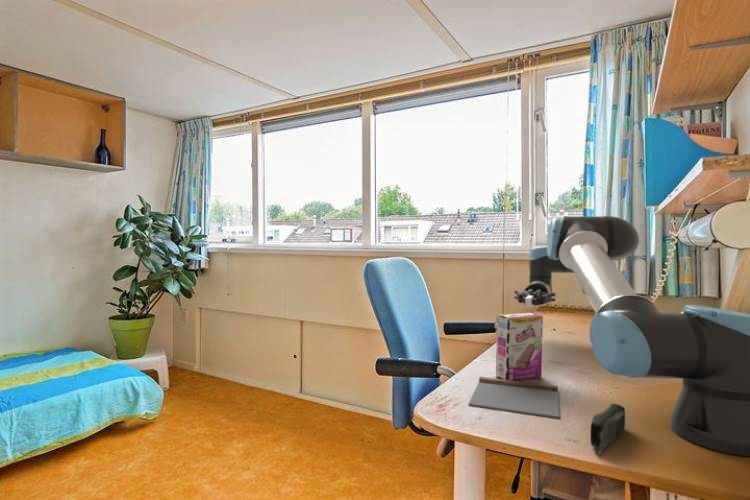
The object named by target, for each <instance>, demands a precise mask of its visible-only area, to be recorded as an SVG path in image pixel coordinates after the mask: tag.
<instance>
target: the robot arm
mask: <svg viewBox="0 0 750 500" xmlns="http://www.w3.org/2000/svg"><path fill="white" fill-rule="evenodd" d="M547 229H548V230H547V239H546V246H531V248H530V250H529V258H528V259H529V276H528V277H529V279H528V285H527V286H526V288H525V289H524V290H523V291H518V290H514V293H513V294H514V296H513V297H514V299H515V300H517V302H518V303H519V304H524V308H528V309H529V308H530V309H531V308H532V307H533V306H541V305H545V304H549V303H552V302H556V292H553V285H552V277H553V274H556V273H557V274H558V273H559V274H574V276H575V277H576V279H577V281H578V283H579V284H580V287H581V288H582V290H583V292H584V294H585V296H586V297H587V300H588V302H589V303H590V304H591V307H592V309H593V310H594V313H595V314H594V316H593V317H592V318H591V322H590V326H589V340H590V343H591V344H592V346H591V349H592V352H593V355H594V357H595V359H596V361H597V362H598V364H599V365H600V366H601V368H602V369H604V370H605V371H606V372H607V373H610V374H612V375H613V376H614V375H615V376H621V377H622V376H623V377H627V378H635V379H638V378H654V379H657V378H659V379H682V388H681V390H680V393H679V395H678V397H677V399H676V402H675V404H674V405H673V406H674V407H673V408H672V411H671V413H670V427H671V430H672V431H673V432H674V433H676V434H677V435H679V436H680V437H682V438H684V439H685V440H687V441H689V442H691V443H694V444H696V445H698V446H701V447H704V448H706V449H710V450H714V451H717V452H720V453H721V452H722V453H726V454H730V455H734V456H735V455H736V456H740V457H741V456H742V457H749V458H750V314H749V313H744V312H739V311H734V310H731V309H723V308H716V307H711V306H705V305H704V306H703V305H698V304H697V305H694V304H686V305H684V307H683V309H682V311H683V313H684V314H681V313H678V312H675V313H674V312H673V313H670V312H669V313H668V312H661V311H660V310H659V309H658V307H656V305H655V304H654V302H652V301H651V299H648V298H647V297H645V296H642V295H639V294H637V293H636V292H635V290H634V289H633V288H632V286H631V285H630V283H629V282H628V280H626V278H625V277H624V275H623V274H622V273H621V271H620V270H619V268H618V267H617V266H616V264H615V262H614V261H621V260H624V259H626V258H628V257H630V256H632V255H633V254H634V253H635V252H636V251H637V249H638V247H639V244H640V237H639V233H638V231H637V229H636V228H635V226H634V225H633V224H632V223H630V222H629V221H627V220H626V219H623V218H620V217H617V216H610V215H609V216H608V215H605V216H601V215H600V216H598V215H597V216H566V215H564V216H556V217H555V216H554V217H553V218H552V219H551V220H550V222H549V224H548V228H547Z"/></svg>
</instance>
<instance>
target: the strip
mask: <svg viewBox="0 0 750 500" xmlns="http://www.w3.org/2000/svg"><path fill="white" fill-rule="evenodd" d="M479 382H484V383H492V384H500V385H508V386H516V387H524V388H533V389H541V390H549V391H557V392H558V393H559V391H558V390H559V389H558V388H559V386H558V385H554V384H546V383H538V382H531V381H530V382H528V381H523V380H519V381H513V380H505V379H499V378H498V377H496V378H495V377H487V376H479V378H478V383H479Z"/></svg>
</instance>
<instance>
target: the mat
mask: <svg viewBox="0 0 750 500" xmlns="http://www.w3.org/2000/svg"><path fill="white" fill-rule="evenodd" d="M559 404H560V403H559V391H558V392H557V391H549V390H541V389H533V388H524V387H516V386H508V385H500V384H492V383H484V382H479V381H478V384H477V386H476V387H475V389H474V391H473V393H472V396H471V398H470V400H469V402H468V406H469V405H471V407H478V408H483V409H492V410H499V411H505V412H512V413H517V414H518V413H519V414H525V415H533V416H539V417H547V418H553V419H559V420H560V405H559Z"/></svg>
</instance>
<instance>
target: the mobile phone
mask: <svg viewBox="0 0 750 500" xmlns="http://www.w3.org/2000/svg"><path fill="white" fill-rule="evenodd" d="M625 427H626V410H625V407H624V406H622V405H620V404H618V403H611V404H610V405H609V406H608V407H606V408H605V409H604V410H603V411H601V412H599V413H597V414H595V415H593V418H592V421H591V424H590V444H591V446H592V447H593V448H595V449H597V450H596V451H595V455H597V456H600V455H601V454H602V452H603V451H604V450H605V449H606V448H607V447H608V446H609V445H611V444H612V443H614V442H615V440H616V439H618V437H620V435H621V434H622V433H624V430H625Z"/></svg>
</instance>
